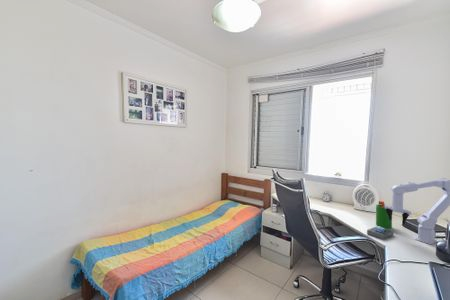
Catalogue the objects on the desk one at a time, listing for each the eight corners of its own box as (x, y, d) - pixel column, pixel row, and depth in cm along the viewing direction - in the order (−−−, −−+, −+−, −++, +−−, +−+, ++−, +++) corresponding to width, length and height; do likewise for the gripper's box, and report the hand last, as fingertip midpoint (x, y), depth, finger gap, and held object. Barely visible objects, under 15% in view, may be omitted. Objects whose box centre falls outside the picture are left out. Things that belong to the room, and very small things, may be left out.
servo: (379, 232, 145) (379, 224, 145) (385, 234, 142) (385, 226, 142) (374, 234, 142) (374, 226, 142) (380, 236, 139) (380, 228, 139)
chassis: (377, 230, 150) (377, 226, 150) (393, 235, 141) (393, 231, 141) (367, 233, 144) (367, 229, 143) (383, 239, 135) (383, 235, 135)
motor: (394, 227, 154) (394, 202, 154) (387, 229, 151) (387, 203, 151) (380, 222, 164) (380, 198, 164) (373, 224, 161) (373, 200, 160)
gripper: (382, 200, 144) (382, 218, 144) (408, 206, 131) (407, 226, 131) (387, 199, 147) (387, 217, 147) (412, 204, 134) (412, 224, 135)
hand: (397, 221), depth 140 cm, fingers open, 7 cm apart
